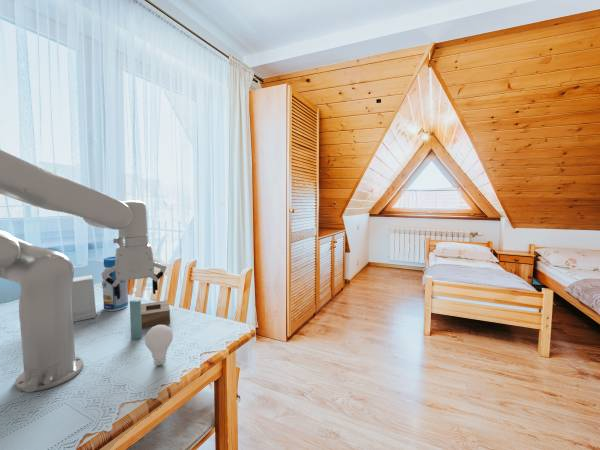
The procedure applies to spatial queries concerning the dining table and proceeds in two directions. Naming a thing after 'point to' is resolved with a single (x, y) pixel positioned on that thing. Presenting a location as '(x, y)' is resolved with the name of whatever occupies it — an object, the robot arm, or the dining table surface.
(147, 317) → the socket block
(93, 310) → the skincare box
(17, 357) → the dining table surface
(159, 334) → the light bulb
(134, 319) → the peg
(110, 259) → the beverage bottle
